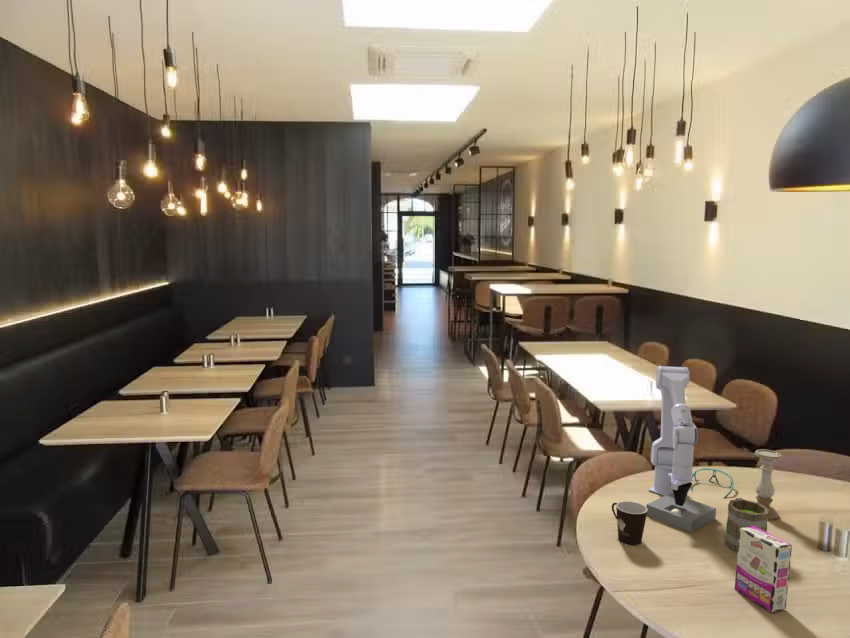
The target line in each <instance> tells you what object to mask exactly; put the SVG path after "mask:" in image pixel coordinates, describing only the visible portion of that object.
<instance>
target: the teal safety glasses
mask: <svg viewBox="0 0 850 638" xmlns="http://www.w3.org/2000/svg"><path fill="white" fill-rule="evenodd" d="M700 471H713V472H712V476H711V477H710V479H708V482H711V481H712V480H713V478H715V481H716V483H717V484H720V482H719V480H718V478H717V476H716V473H717V472H719V473H722V474H724V475H726V476H727V477H728V478H729V479H730V485H726V484H724V485H725V487H727V488H729V489H730V490H729V491H728V493H726V494H725V496H723V499H726V498H727V497H728V496H729V495H730V494H731V493H732V492H733V489H734V486H735V485H734V484H735V483H734V479H733V477H732V476H730V474H728V473H727V472H725V471H722V470H720V469H715V468H700V469H697V470H695V471H694V472H692V478H694V481H695V482H697V481H699V482H700V481H702V480H700V479H697V477H696V476H697V472H700ZM690 491H691V492H694V491H693V488H692V486H691V487H690Z"/></svg>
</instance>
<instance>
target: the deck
mask: <svg viewBox="0 0 850 638" xmlns="http://www.w3.org/2000/svg"><path fill="white" fill-rule="evenodd" d="M645 507H647V509H648V511H647V516H646V517H650V518H652V517H653V519H656V520H658V521H660V522H663V523H666V524H668V525H671V526H673V527H676V528H678V529H681V530H683V531H686V532H688V533H692V532H694V531H696V530H698V529H700V528H702V527H703V526H705V525H707V524H709V523H710V522H713V521H715V520H716V517H717V508H716V507H713V506H711V505H707V504H704V503H701V502H699V501H696V500H694V499H691V498H688V497H686V499H685V503H684V505H683V506H679V505H676V504H675V499H674V493H670V494H668V495H666V496H661V497H659V498H658V499H655V500H653V501H651V502H648V503H646V505H645ZM673 509H678V510H680V511H681V513H680V514H677V513H674V512H671V511H672V510H673Z"/></svg>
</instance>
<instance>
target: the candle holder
mask: <svg viewBox="0 0 850 638" xmlns="http://www.w3.org/2000/svg"><path fill="white" fill-rule="evenodd" d="M754 456H756V457H758V458H759V459H760V461H761V462H762V465H761V466H760V469H761V476H760V480H759V481H758V482H757V484H756V485H755V488H754V490H755V493H756V496H755V499H756V501H757V503H760V504H762V505H763V506H765V507H767V508H768V509H769V512H768V517H767V521H768V520H769V521H771V520H772V521H773V520H777V519H778V518H779V512H778V511H777V510H776V509H775V508H774V507H773V506H771V504H772V503H773V500H774V499H773V498H772V497H774V495H775V493H776V492H775V487H774V485H773V481H772V476H773V475H772V473H773V472H774V471H775V468H774V467H773V464H774V463H776V461H779V460H782V459H783V455H782V454H781V453H779V452H778V451H775V450H770V449H765V448H764V449H763V448H761V449H757V450H755V451H754Z"/></svg>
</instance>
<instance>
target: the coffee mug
mask: <svg viewBox="0 0 850 638" xmlns="http://www.w3.org/2000/svg"><path fill="white" fill-rule="evenodd" d="M615 507H616V510H615ZM611 511H612V514H613V516H614V518H615V519H616V523H617V538H618V539H617V540H618V541H619V543H622V544H623V545H626V544H627V546H639V545H641V544H642V540H643V535H644V531H645V525H646V521H647V520H646V519H647V517H648V516H647V511H648V509H647V507H646V505H645V504H642V503H639V502H636V501H631V500H630V501H629V500H627V501H626V500H623V501H619V502H613V503H612V505H611Z"/></svg>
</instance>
